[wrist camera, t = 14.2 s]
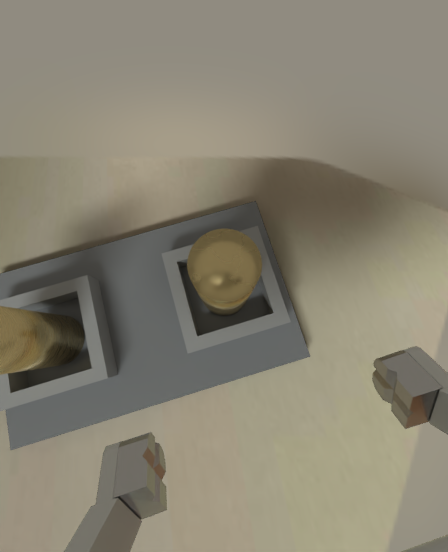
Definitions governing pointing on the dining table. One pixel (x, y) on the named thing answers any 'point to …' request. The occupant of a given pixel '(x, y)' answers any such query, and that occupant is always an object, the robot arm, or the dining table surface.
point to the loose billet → (224, 269)
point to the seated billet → (37, 340)
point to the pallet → (143, 328)
